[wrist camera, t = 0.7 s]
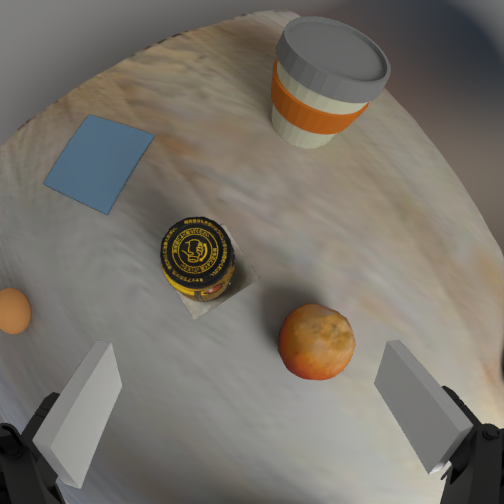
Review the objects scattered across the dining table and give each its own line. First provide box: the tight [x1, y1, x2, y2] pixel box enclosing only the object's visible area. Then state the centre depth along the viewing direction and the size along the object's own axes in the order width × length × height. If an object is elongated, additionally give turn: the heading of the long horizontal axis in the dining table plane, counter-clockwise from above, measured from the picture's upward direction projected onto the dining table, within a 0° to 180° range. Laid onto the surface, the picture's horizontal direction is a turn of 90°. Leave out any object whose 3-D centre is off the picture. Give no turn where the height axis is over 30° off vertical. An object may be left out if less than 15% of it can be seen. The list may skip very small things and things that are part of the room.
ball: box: [0, 288, 31, 334], centre depth 25 cm, size 6×6×6 cm
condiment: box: [160, 217, 260, 319], centre depth 26 cm, size 7×8×12 cm
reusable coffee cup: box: [271, 16, 391, 149], centre depth 31 cm, size 13×13×15 cm
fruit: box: [278, 304, 355, 380], centre depth 29 cm, size 8×8×8 cm
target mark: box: [43, 115, 155, 215], centre depth 33 cm, size 12×12×1 cm
